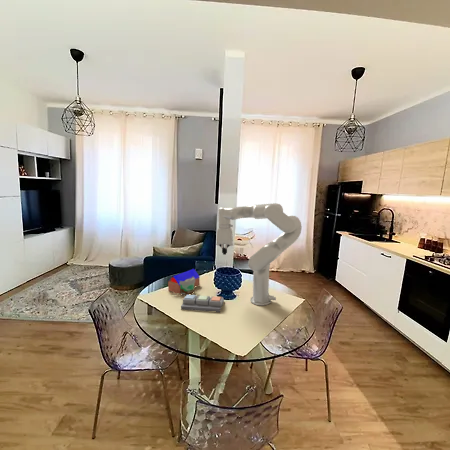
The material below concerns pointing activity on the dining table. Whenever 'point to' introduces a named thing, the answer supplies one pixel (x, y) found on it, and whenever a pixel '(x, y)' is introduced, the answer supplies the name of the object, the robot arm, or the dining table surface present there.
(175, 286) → the house
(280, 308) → the dining table surface
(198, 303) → the button panel
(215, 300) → the button terracotta
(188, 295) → the button slate
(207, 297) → the button sage
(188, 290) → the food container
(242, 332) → the dining table surface
